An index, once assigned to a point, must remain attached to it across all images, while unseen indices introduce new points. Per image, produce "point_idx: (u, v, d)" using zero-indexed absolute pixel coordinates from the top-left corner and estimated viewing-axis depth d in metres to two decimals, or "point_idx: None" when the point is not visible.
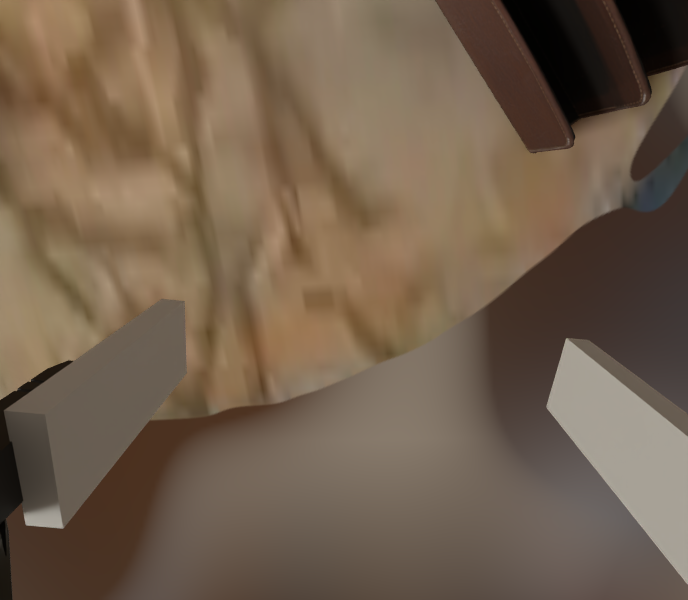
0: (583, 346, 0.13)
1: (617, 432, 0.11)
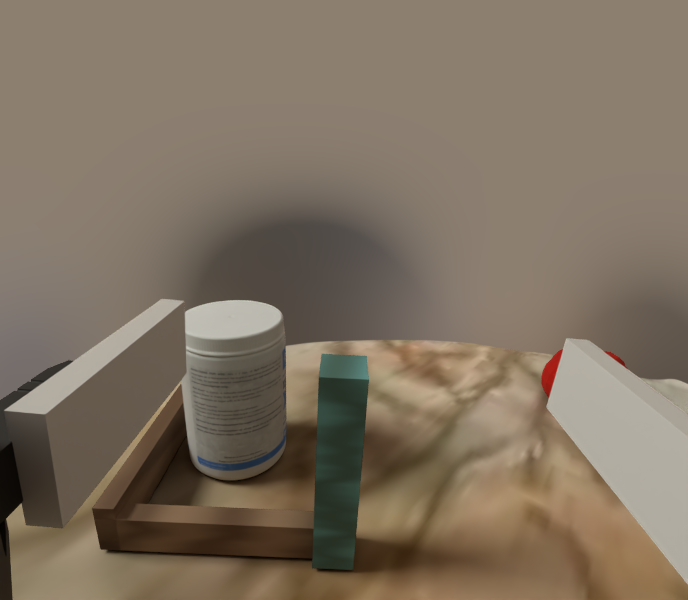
0: (583, 346, 0.13)
1: (617, 432, 0.11)
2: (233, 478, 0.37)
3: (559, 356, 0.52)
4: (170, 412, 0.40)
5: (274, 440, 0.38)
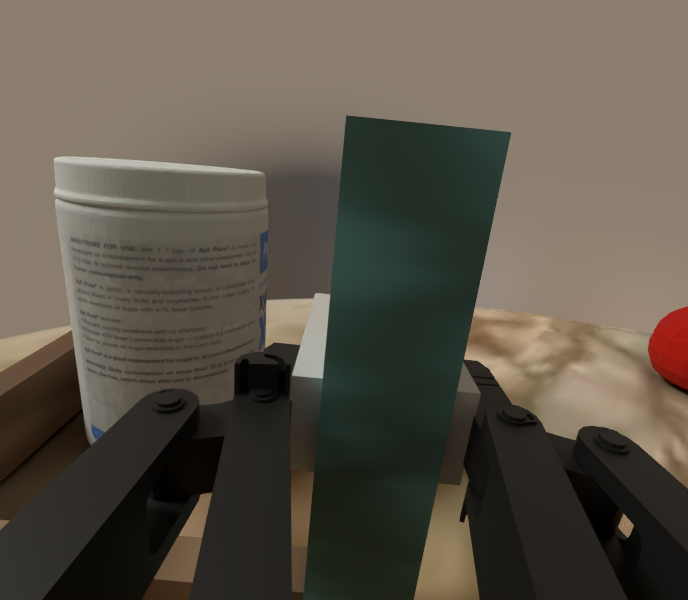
0: None
1: None
2: None
3: (680, 315, 0.35)
4: (59, 349, 0.23)
5: None
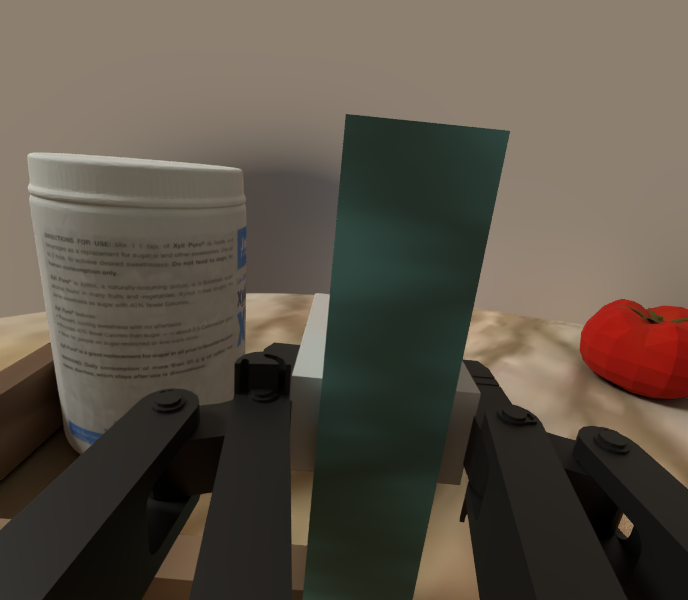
0: None
1: None
2: None
3: (608, 308, 0.35)
4: None
5: (217, 399, 0.21)
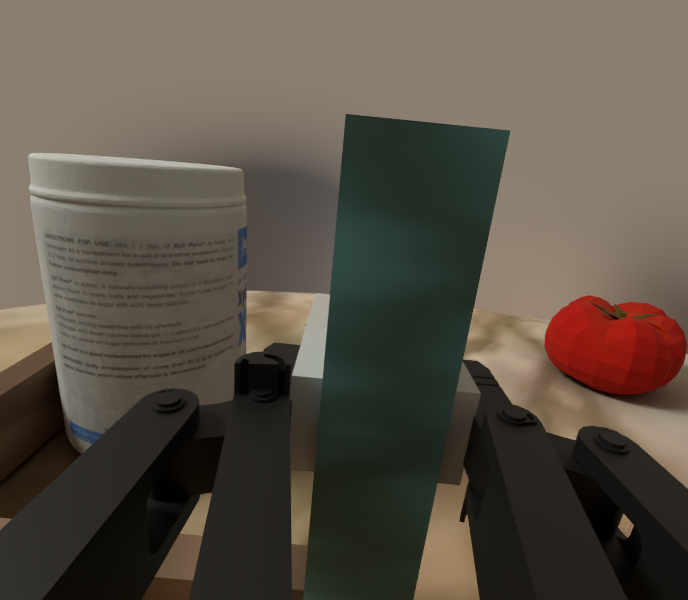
0: None
1: None
2: None
3: (572, 304, 0.35)
4: None
5: (217, 399, 0.21)
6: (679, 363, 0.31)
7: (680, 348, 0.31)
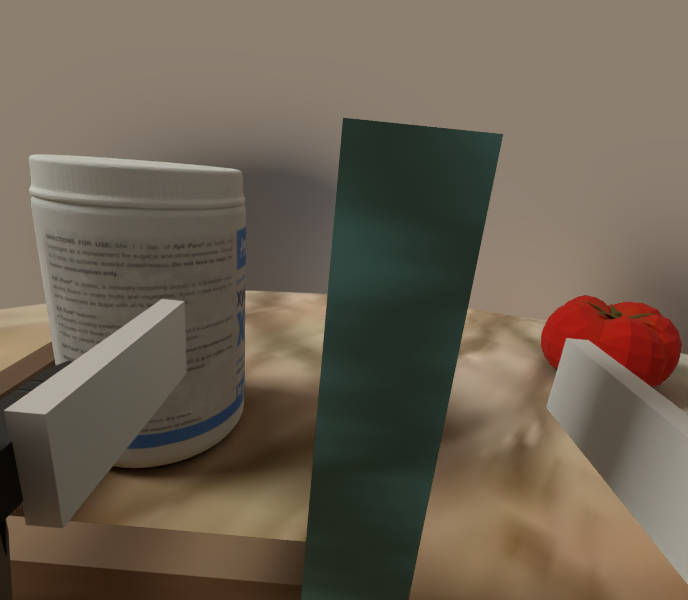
0: (583, 346, 0.13)
1: (617, 432, 0.11)
2: (134, 464, 0.20)
3: (568, 304, 0.35)
4: None
5: (216, 399, 0.21)
6: (674, 362, 0.31)
7: (675, 347, 0.31)
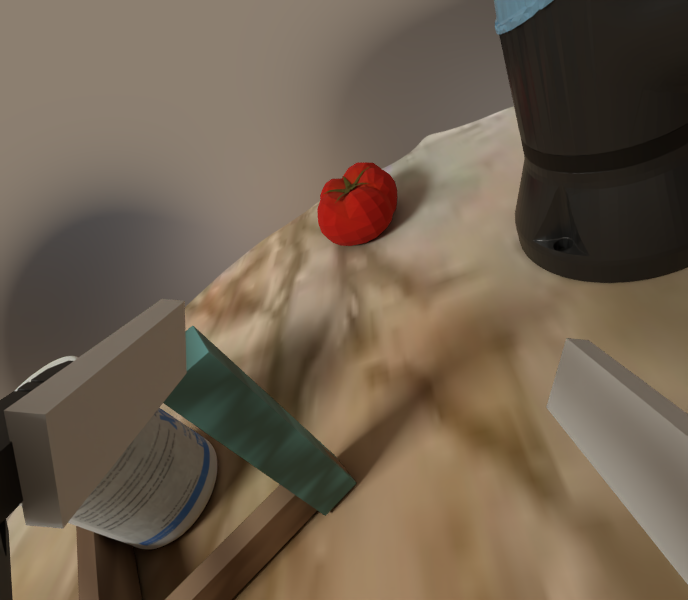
0: (583, 346, 0.13)
1: (617, 432, 0.11)
2: (191, 523, 0.32)
3: (320, 203, 0.48)
4: None
5: (195, 460, 0.33)
6: (391, 193, 0.47)
7: (386, 185, 0.46)
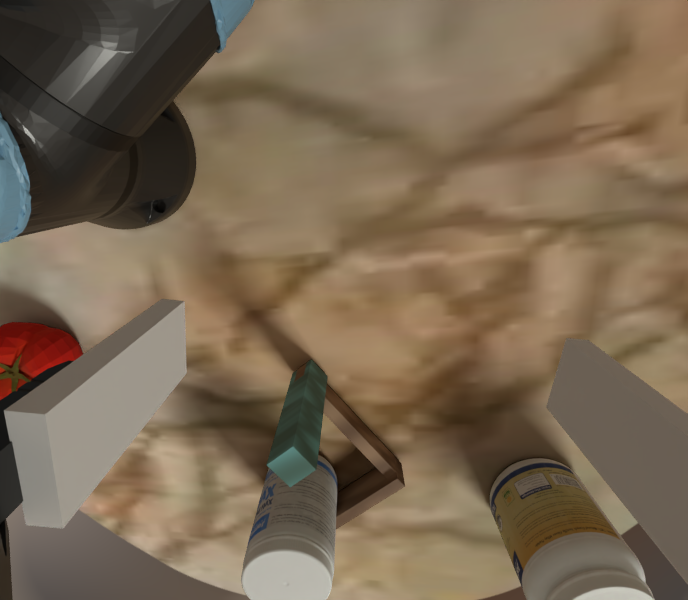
0: (583, 346, 0.13)
1: (617, 432, 0.11)
2: (325, 459, 0.53)
3: None
4: None
5: None
6: (29, 328, 0.45)
7: (21, 334, 0.44)
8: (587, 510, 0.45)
